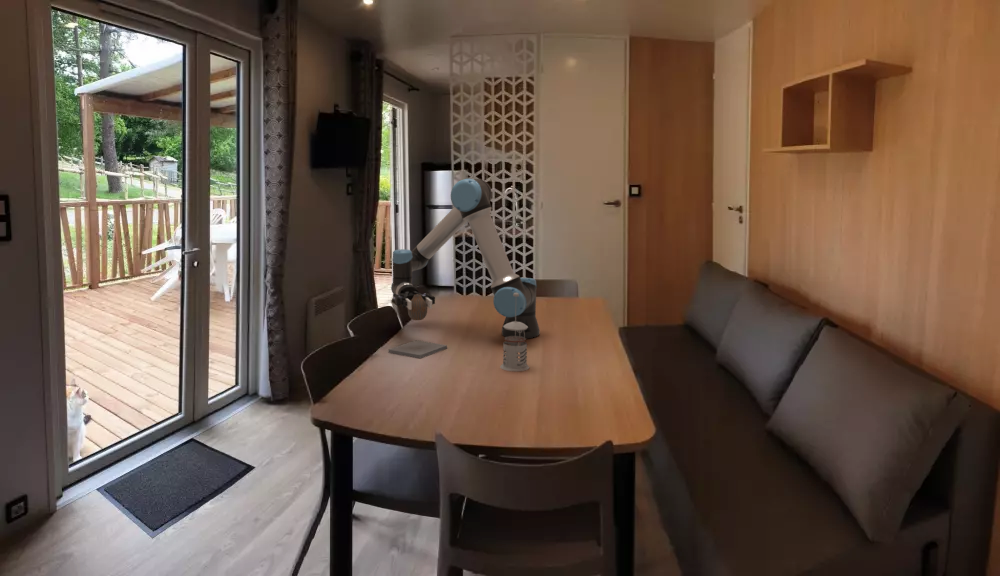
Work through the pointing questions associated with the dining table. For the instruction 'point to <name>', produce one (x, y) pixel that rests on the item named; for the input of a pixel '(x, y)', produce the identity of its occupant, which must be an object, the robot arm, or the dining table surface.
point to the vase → (418, 308)
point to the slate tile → (417, 349)
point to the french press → (515, 347)
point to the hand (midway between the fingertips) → (420, 305)
